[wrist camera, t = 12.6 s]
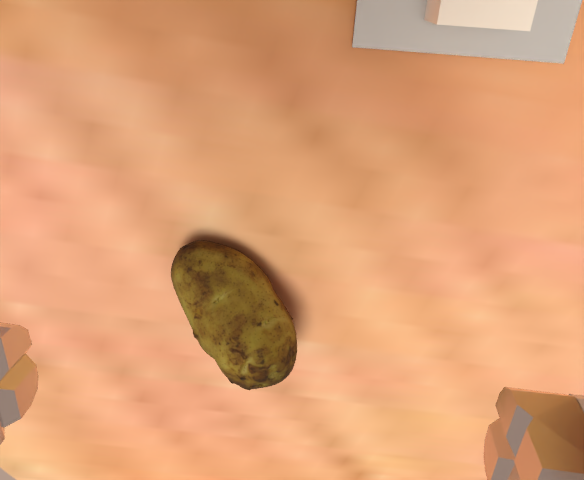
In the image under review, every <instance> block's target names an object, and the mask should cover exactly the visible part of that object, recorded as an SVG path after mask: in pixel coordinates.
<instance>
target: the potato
mask: <svg viewBox="0 0 584 480" xmlns="http://www.w3.org/2000/svg"><path fill="white" fill-rule="evenodd" d="M171 278H172V282H173V286H174V289H175V291H176V294H177V296H178V299H179V301H180V303H181V306H182V308H183V310H184V312H185V314H186V316H187V318H188V320H189V323H190V325H191V327H192V329H193V334H194V337H195V338H196V339H197V340H198V342H199V344H200V346H201V347H202V348H203V350H204V351H205V352H206V353H207V354H208V355H210V356H211V357H212V358H214V359H215V361H216V362H217V364H218V366H219V368H220V369H221V371H222V372H223V373H224V375H225V376H226V377H227V378H228V379H229V381H230V382H231V383H235V384H237V385H239V386H240V387H242V388H244V389H247V390H251V389H257V388H263V387H268V386H272V385H275V384H277V383H279V382H281V381H283V380H284V379H285V378H286V377H287V376H288V375H289V374H290V372H291V371H292V369H293V367H294V363H295V360H296V354H297V338H296V332H295V328H294V325H293V322H292V317H291V316H290V314H289V312H288V311H287V309H286V308H285V306H284V304H283V303H282V301H281V300H280V298H279V297H278V296H277V295H276V293H275V292H274V290H273V287H272V285H271V282H270V281H269V279H268V277H267V276H266V274H265V273H264V272H263V271H262V270H261V269H260V268H259V267H258V266H257V265H256V264H255V263H254V262H253V261H252V260H251V259H249V258H248V257H246V256H245V255H244V254H242V253H240V252H239V251H237V250H235V249H232V248H230V247H227V246H224V245H221V244H217V243H213V242H208V241H195V242H192V243H190V244H188V245H185V246H183V247H182V248H180V250H179V251H178V252H177V254H176V256H175V258H174V261H173V263H172V268H171Z"/></svg>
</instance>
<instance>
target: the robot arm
mask: <svg viewBox="0 0 584 480" xmlns="http://www.w3.org/2000/svg"><path fill="white" fill-rule="evenodd" d="M31 345H32V343H31V340H30V336H29V332H28V329H26V328H24V327H22V326H20V325H15V324H8V323H2V322H0V444H1V443H2V442H3V440H4V439H5V436H4V427H6V426H8V425H10V424H12V423H14V422H15V421H17V420H19V419H21V418H22V417H23V415H24V414H25V413H26V411H27V410H28V409H29V407H30V406H31V404H32V402H33V399H34V397H35V394H36V391H37V389H38V371H37V366H36V364H35V363H34V362H33V361H32V360H31V359H30V358H29V357H28V356H27V354H26V353H27V351H28V350H29V348H30V347H31ZM496 408H497V411H498V414H499V417H500V418H499V419H498V420H496V421H495V422H493V423H492V424H490V425H489V427H488V431H487V434H486V438H485V444H484V464H485V472H486V476H487V480H584V396H582V395H573V394H569V395H566V394H558V393H550V392H542V391H533V390H525V389H517V388H509V387H504V388H503V390H502V391H501V392H500V394H499V397H498V400H497V402H496Z"/></svg>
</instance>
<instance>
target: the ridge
mask: <svg viewBox="0 0 584 480" xmlns="http://www.w3.org/2000/svg"><path fill="white" fill-rule="evenodd" d="M581 3H582V0H357V7H356V16H355V25H354V35H353V44H352V47H356V48H369V49H382V50H395V51H408V52H421V53H434V54H447V55H460V56H473V57H486V58H499V59H512V60H525V61H538V62H551V63H564V61H565V58H566V55H567V51H568V48H569V44H570V41H571V37H572V34H573V30H574V27H575V23H576V20H577V16H578V13H579V10H580V6H581Z"/></svg>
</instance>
